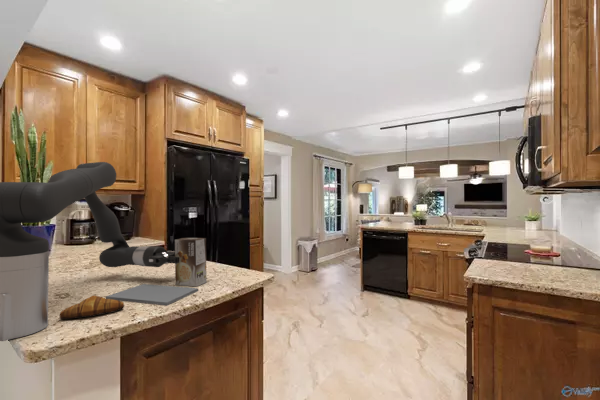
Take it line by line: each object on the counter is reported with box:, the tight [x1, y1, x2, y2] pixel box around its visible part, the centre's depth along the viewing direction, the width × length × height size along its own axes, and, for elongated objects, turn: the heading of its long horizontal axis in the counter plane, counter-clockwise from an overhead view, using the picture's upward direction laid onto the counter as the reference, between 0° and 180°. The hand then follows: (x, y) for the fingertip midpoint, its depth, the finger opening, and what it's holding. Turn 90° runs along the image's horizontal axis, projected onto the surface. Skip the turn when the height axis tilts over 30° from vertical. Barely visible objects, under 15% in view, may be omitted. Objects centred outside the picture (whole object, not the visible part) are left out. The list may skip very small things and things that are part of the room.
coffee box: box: [174, 237, 208, 287], centre depth 101 cm, size 9×6×16 cm
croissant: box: [59, 295, 125, 320], centre depth 73 cm, size 14×7×5 cm, turn 120°
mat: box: [105, 283, 199, 306], centre depth 88 cm, size 14×22×1 cm, turn 74°
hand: (186, 258), depth 102 cm, fingers open, 8 cm apart
